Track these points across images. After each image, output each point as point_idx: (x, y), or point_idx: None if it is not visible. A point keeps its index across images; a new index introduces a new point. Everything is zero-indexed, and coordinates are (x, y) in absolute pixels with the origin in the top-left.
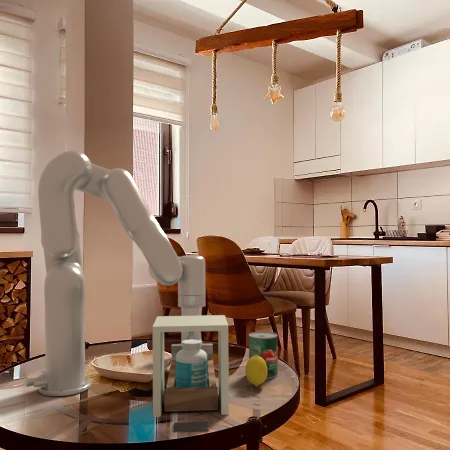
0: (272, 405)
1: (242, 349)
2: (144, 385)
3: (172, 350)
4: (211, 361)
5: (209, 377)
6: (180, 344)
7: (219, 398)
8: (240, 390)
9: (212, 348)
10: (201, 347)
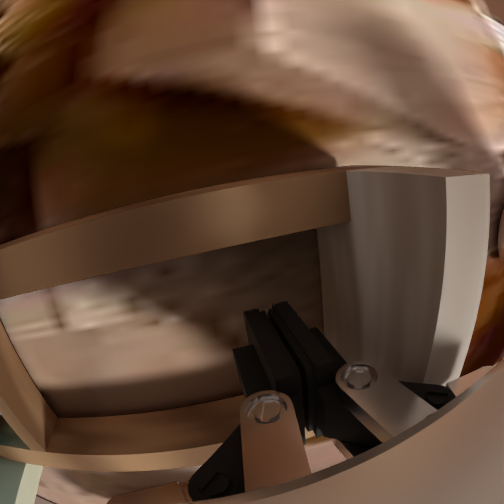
0: (54, 498)
1: (492, 361)
2: (36, 85)
3: (407, 185)
4: (305, 434)
5: (39, 453)
6: (477, 273)
7: None
8: (106, 477)
9: None
10: None
